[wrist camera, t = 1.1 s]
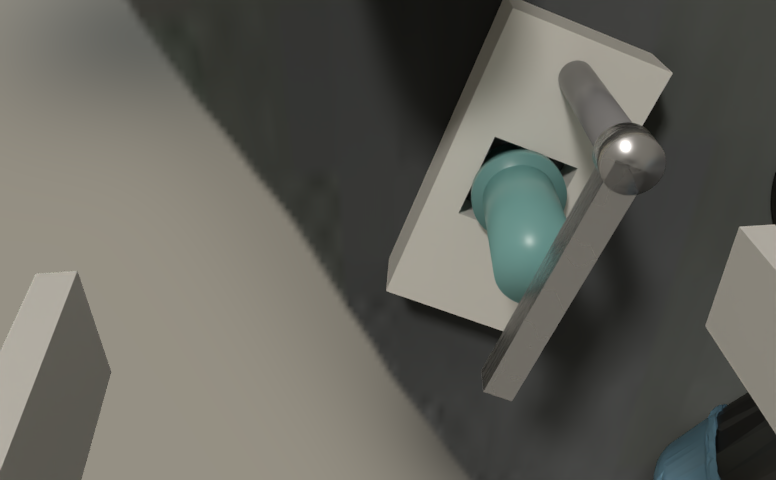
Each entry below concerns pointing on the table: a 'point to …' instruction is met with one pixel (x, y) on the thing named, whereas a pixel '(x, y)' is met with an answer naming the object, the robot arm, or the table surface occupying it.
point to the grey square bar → (574, 251)
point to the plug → (518, 212)
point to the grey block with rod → (523, 128)
